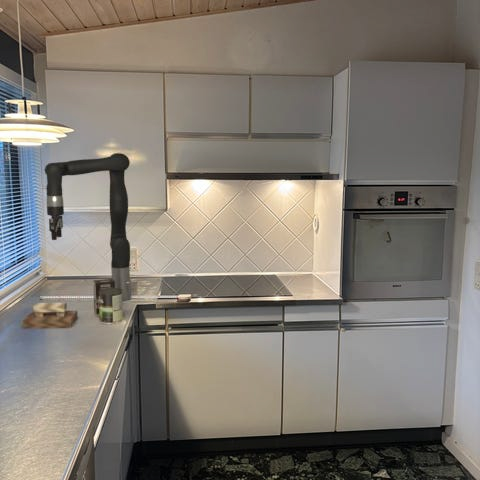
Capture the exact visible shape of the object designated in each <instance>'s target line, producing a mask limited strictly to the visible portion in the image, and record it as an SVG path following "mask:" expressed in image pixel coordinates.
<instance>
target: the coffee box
mask: <svg viewBox="0 0 480 480" xmlns="http://www.w3.org/2000/svg"><path fill="white" fill-rule="evenodd" d="M92 284H93V285H92V286H93V314H94V315H95V316H96V317H100V309H99V290H101V289H105V288H115V281H114V280H113V279H112V278H106V279H105V278H104V279H94V280H93V283H92Z"/></svg>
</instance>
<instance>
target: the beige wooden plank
mask: <svg viewBox="0 0 480 480" xmlns="http://www.w3.org/2000/svg"><path fill="white" fill-rule="evenodd" d="M67 303H68V302H36V303H35V304H34V305H32V306H33V311H34V312H35V315H36V317H44V316H45V312H57V317H59V316H66V311H68V305H67Z"/></svg>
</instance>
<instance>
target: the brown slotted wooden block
mask: <svg viewBox="0 0 480 480" xmlns="http://www.w3.org/2000/svg"><path fill="white" fill-rule="evenodd" d="M78 317H79V315H78V310H66V316H59V317H57V312H45V316H44V317H36V315H35V312H34V310H32V311H30V312H29V314H27V315H26V316H25V317H24V318H23V319H22V329H23V330H27V329H26V328H29V330H30V328H31V330H32V328H34V329H35V330H36V329H37V328H39V329H67V328H66V327H71V328H73V326H74V325H75V323H76V322H77V320H78V319H79V318H78ZM73 324H74V325H73Z"/></svg>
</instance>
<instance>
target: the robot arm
mask: <svg viewBox="0 0 480 480" xmlns="http://www.w3.org/2000/svg"><path fill="white" fill-rule="evenodd" d="M129 167H130V159H129V157H128V156H127V155H126V154H124V153H121V152H116V153H112V154H111V155H109V156H107V157H101V158H85V159H84V158H83V159H74V160H68V161H62V162H61V161H59V162H50V163H48V164H46V165H45V167H44V173H45V175H46V182H47V183H46V187H45V188H46V215H47V216H50V217H51V218H49V219H48V225H49V228H48V229H49V232H50V233H51V234H50V235H51V240H52V241H57V240H58V238H62V237H63V236H62V234H63V233H62V232H63V231H62V230H63V228H64V223H63V221H64V220H63V216H64V215H65V214H64V213H65V210H64V209H65V208H64V207H65V206H64V197H63V177H66V176H81V175H85V174H92V173H96V172H97V173H98V172H109V214H110V215H109V219H110V224H111V229H110V240H109V247H110V250H111V263H110V264H111V279H113V280H114V281H115V288H119V289H122V302H123V301H130V300H131V299H132V298H131V297H132V283H131V282H132V280H131V273H130V272H131V270H130V269H131V267H130V266H131V244H130V242H129V240H128V237H127V229H126V226H127V220H128V213H129V197H128V196H129V195H128V191H127V187H126V182H125V174H126V173H125V171H126V170H127V169H129Z"/></svg>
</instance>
